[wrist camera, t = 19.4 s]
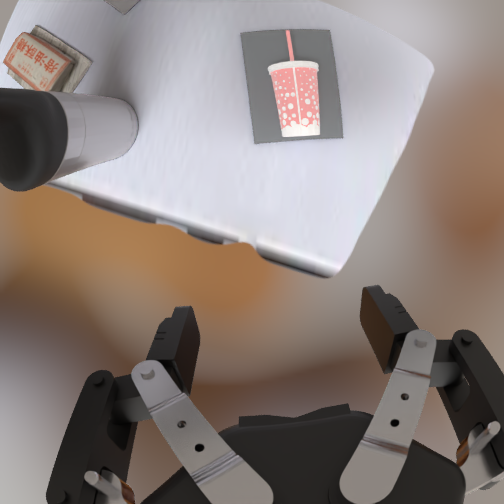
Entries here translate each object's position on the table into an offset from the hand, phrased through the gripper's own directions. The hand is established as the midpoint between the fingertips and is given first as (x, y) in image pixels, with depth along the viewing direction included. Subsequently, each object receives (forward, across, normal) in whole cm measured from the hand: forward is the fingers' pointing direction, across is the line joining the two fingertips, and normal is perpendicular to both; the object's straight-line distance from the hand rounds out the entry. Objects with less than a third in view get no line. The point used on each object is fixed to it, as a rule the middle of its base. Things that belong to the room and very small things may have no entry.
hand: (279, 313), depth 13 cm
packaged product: (+29, +31, -27) cm, 50 cm away
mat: (+28, -6, -14) cm, 32 cm away
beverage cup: (+25, -6, -6) cm, 26 cm away
